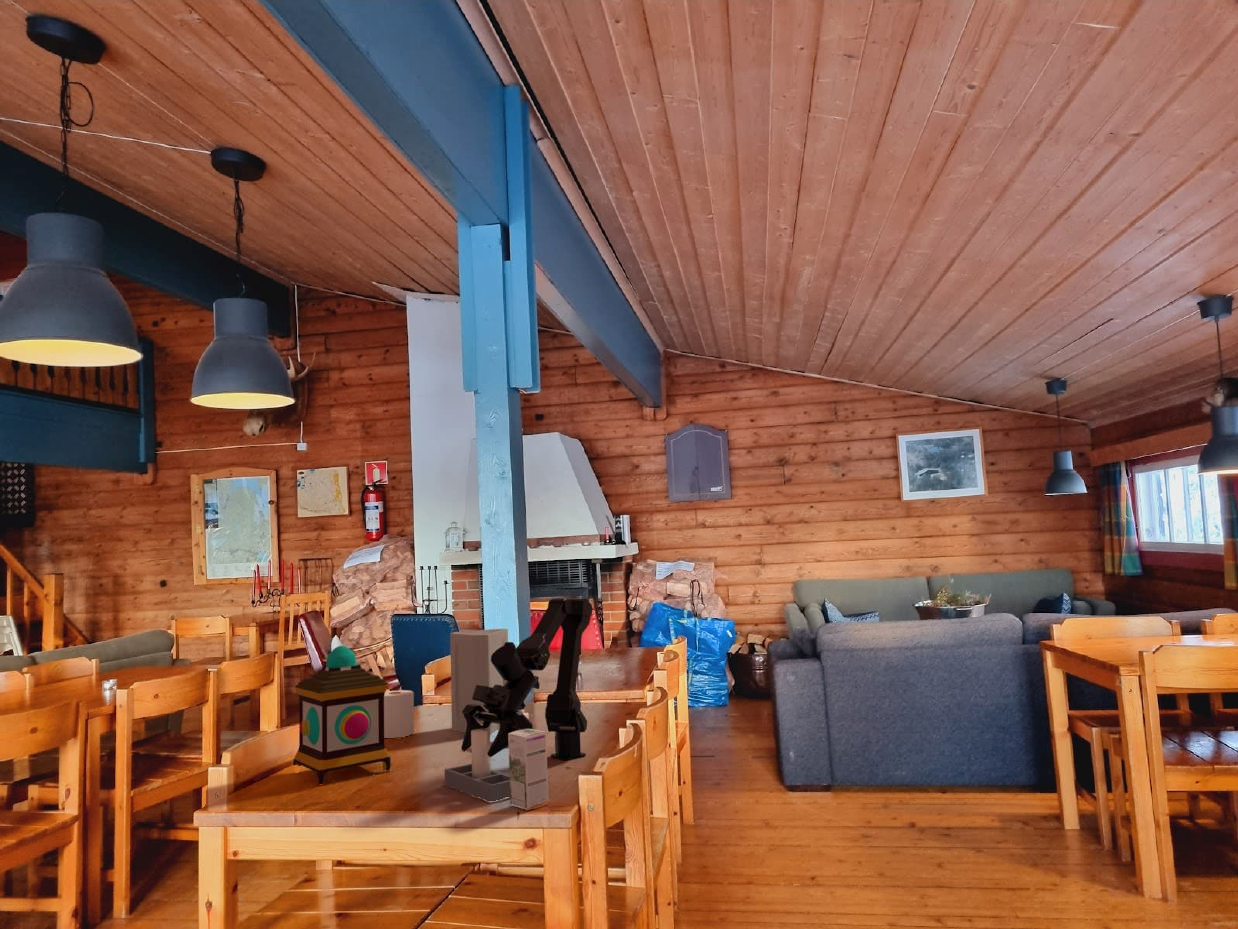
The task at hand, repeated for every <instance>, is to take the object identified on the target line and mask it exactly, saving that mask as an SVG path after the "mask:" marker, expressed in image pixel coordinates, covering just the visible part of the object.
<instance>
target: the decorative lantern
mask: <svg viewBox="0 0 1238 929" xmlns="http://www.w3.org/2000/svg"><path fill="white" fill-rule="evenodd" d="M388 687H389V683H388V682H387V681H386V680H385V679H383V678H381V676H380V675H377V674H371V673H370V672H368V671H366V669H365V668H362V666H361V664H357V657H356V654H355V653H354V652H353V650H351V649H350V648H349V647H347V646H345V645H338V646H336V647H335V648H334V649H332V650H331V652H330V653H329V654H328V655H327V657H326V664H325V665H322V666H321V669H319V670H317V672H316V673H314V674H313V675H311V676H308V677H304V678H303V679H302V680H301V681H299V682H298V683H297V685H295V686H294V690H295V691H296V693H297V695H298V698H299V699H298V700H299V708H298V709H299V715H298V716H299V719H298V721H299V732H298V733H299V735H298V736H299V741H298V743H299V745H298V750H297V752H296V754H295V755H294V758H293V761H292V762H293V763H292V764H293V766H294V765H298V766H301V767H304V768H306V769H307V770H308V769H309V770H311V771H313V772H314V773H316V776H317V783H318V785H319V784H323V785H324V784H325V782H326V781H325V779H326V776H327V774H328V773H330V772H337V771H341V770H345V769H350V768H355V767H360V766H366V765H370V764H376V763H381V762H382V769H383V771H384V770H386V771H387V770H389V771H390V769H391V764H392V763H391V762H392V761H391V759H392V758H391V756H390V754H389V751H388V750H387V747H386V746H385V739H384V694H385V692H387V689H388ZM293 766H292V767H293Z"/></svg>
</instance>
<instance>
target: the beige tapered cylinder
mask: <svg viewBox="0 0 1238 929" xmlns="http://www.w3.org/2000/svg"><path fill="white" fill-rule="evenodd" d="M490 747H491V735H490V729H475V730H472V731H471V747H470V749H471V764H472V777H473V778H476V779H478V778H482V777H487V776H491V770H492V767H491V766H492V765H491V757H489V756H488V755H487V753H488V751H489V749H490Z"/></svg>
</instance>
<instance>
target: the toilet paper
mask: <svg viewBox="0 0 1238 929" xmlns="http://www.w3.org/2000/svg"><path fill="white" fill-rule="evenodd" d="M414 696H415V692H414V691H412V690H408V689H407V690H406V689H405V690H404V689H402V690H401V689H400V690H391V691H390V690H389V691H386V692H385V694H384V738H394V737H402V736H408V737H410V736H409V735H411V734H413V733H414V734H415V705H414V701H415V700H414V699H415V698H414ZM414 734H413V735H414ZM411 736H412V735H411Z"/></svg>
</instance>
